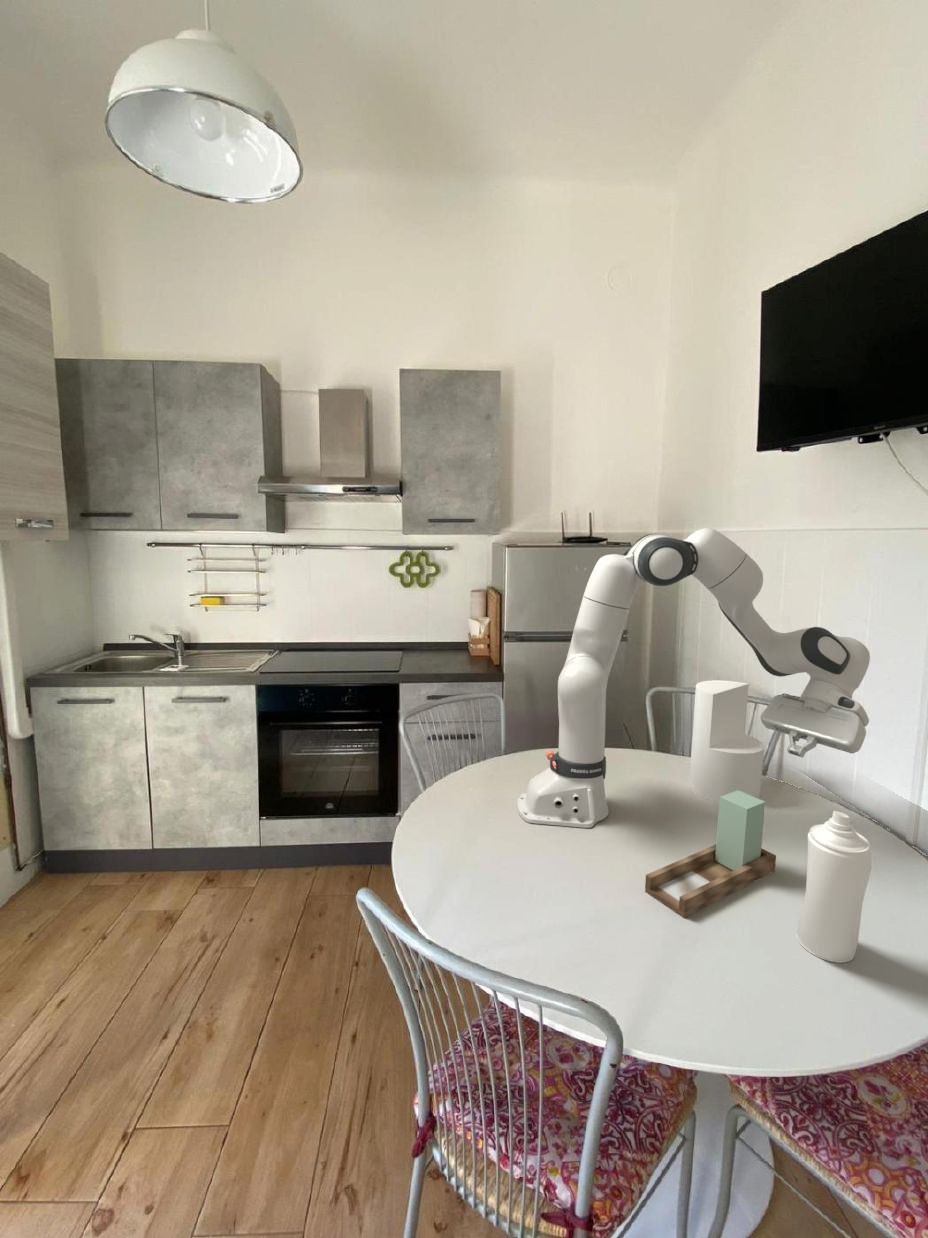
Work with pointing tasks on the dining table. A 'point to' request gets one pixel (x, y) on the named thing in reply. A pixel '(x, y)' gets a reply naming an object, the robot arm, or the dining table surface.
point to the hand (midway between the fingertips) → (794, 754)
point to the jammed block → (739, 829)
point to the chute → (703, 880)
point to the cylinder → (723, 742)
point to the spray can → (834, 889)
